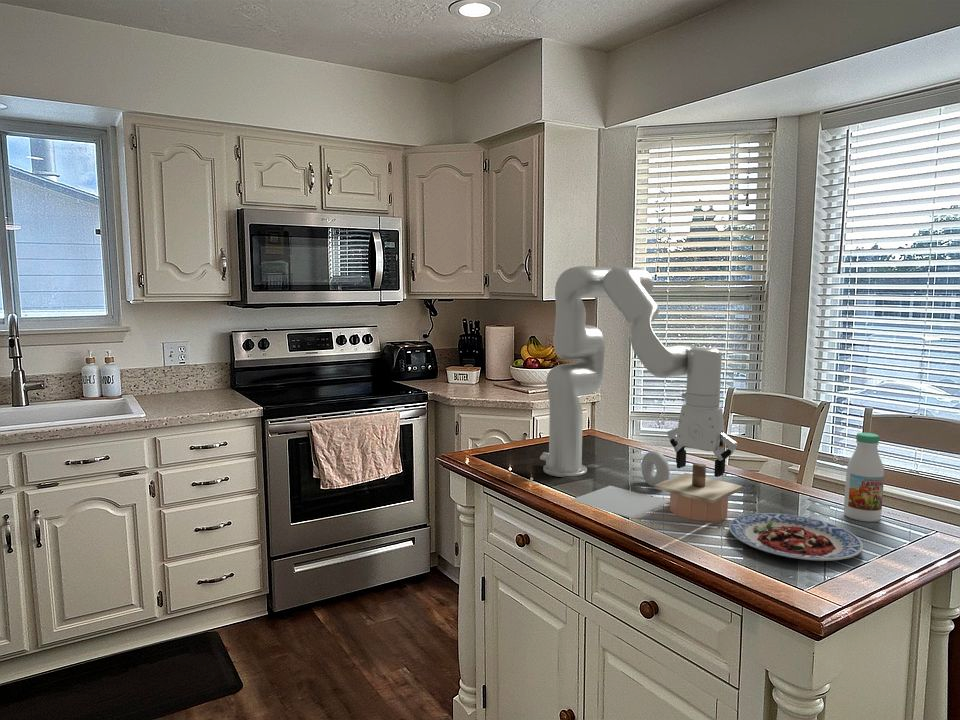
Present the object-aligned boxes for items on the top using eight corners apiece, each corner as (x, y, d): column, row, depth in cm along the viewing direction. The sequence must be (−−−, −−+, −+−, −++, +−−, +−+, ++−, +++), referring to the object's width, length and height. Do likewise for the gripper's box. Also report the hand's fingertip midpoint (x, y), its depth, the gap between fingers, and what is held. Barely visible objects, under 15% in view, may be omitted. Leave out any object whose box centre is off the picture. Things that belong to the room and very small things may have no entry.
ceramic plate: (893, 561, 133) (894, 546, 133) (786, 576, 126) (787, 561, 125) (797, 517, 158) (798, 505, 157) (704, 528, 150) (704, 515, 150)
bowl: (659, 512, 160) (660, 488, 159) (686, 500, 169) (687, 477, 168) (710, 527, 150) (711, 501, 150) (736, 513, 159) (737, 489, 159)
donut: (671, 492, 175) (673, 455, 174) (661, 493, 174) (662, 456, 173) (648, 481, 185) (649, 446, 183) (637, 483, 183) (639, 447, 182)
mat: (570, 502, 167) (570, 499, 167) (610, 487, 179) (610, 485, 179) (631, 520, 154) (631, 518, 154) (670, 503, 166) (670, 501, 166)
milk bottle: (835, 513, 159) (841, 432, 157) (858, 509, 162) (864, 429, 160) (865, 524, 152) (872, 439, 150) (888, 520, 155) (895, 436, 153)
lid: (653, 488, 159) (654, 464, 158) (685, 475, 169) (686, 453, 169) (712, 503, 148) (714, 478, 148) (743, 489, 159) (744, 465, 158)
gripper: (661, 397, 160) (659, 466, 162) (730, 407, 148) (727, 482, 150) (677, 394, 165) (675, 461, 167) (745, 403, 153) (742, 475, 155)
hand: (699, 471), depth 158 cm, fingers open, 9 cm apart
